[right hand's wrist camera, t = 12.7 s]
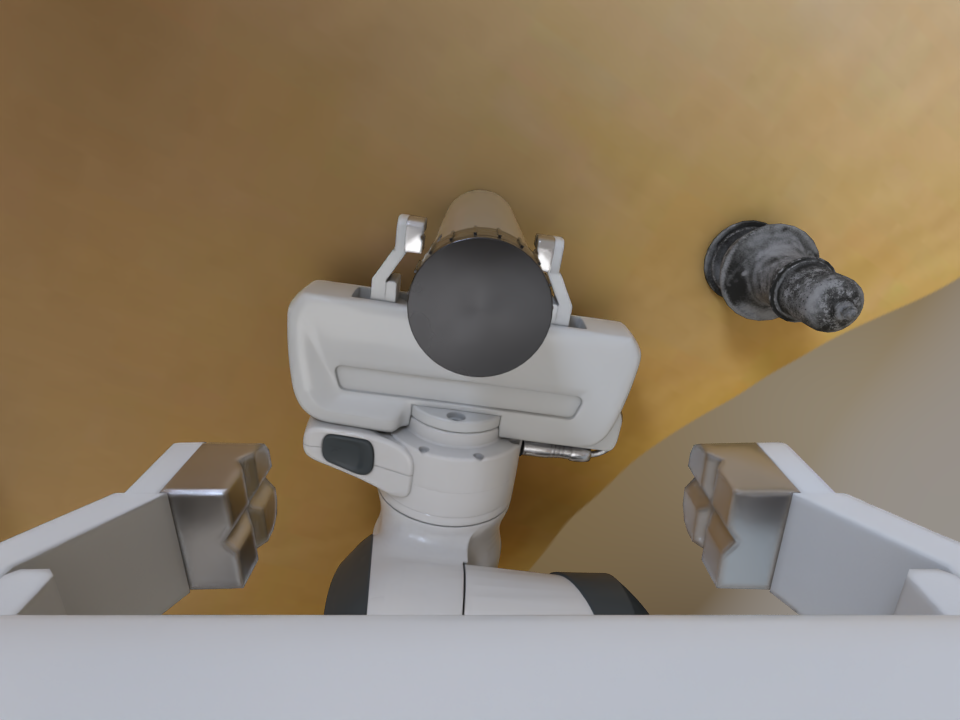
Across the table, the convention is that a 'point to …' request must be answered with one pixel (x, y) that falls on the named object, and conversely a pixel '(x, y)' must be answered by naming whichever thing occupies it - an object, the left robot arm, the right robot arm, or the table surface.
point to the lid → (479, 302)
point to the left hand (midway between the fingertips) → (482, 226)
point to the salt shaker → (780, 277)
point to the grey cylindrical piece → (479, 214)
